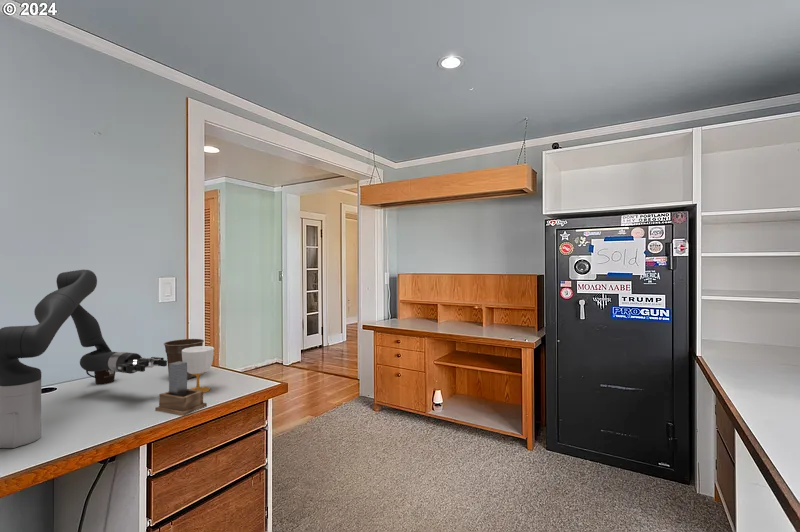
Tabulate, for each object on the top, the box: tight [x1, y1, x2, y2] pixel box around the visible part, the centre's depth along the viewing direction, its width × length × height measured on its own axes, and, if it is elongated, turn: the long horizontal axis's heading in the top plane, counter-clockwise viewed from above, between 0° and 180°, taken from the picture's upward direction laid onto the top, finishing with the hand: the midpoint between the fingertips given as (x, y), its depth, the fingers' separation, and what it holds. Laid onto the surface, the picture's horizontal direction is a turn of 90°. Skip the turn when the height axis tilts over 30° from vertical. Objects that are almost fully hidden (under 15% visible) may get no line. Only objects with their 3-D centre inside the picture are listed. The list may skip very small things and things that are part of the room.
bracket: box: [168, 361, 188, 397], centre depth 141 cm, size 4×7×15 cm, turn 68°
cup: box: [182, 345, 215, 394], centre depth 160 cm, size 12×12×17 cm
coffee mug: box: [85, 370, 116, 386], centre depth 170 cm, size 12×9×10 cm
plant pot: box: [163, 338, 205, 380], centre depth 181 cm, size 16×16×16 cm
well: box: [155, 388, 208, 416], centre depth 141 cm, size 10×13×6 cm
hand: (155, 365), depth 145 cm, fingers open, 8 cm apart
